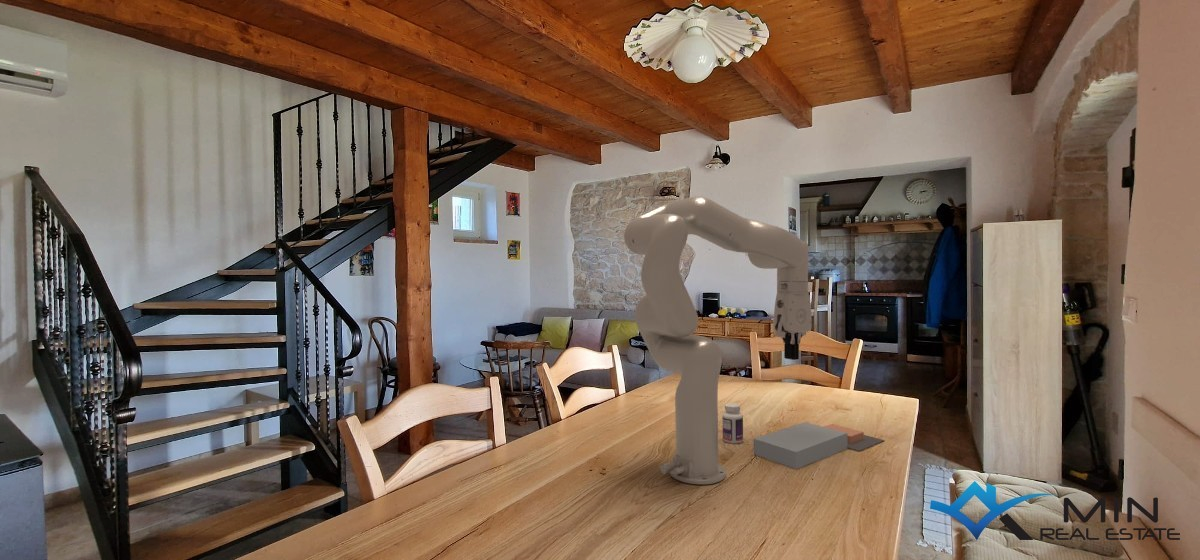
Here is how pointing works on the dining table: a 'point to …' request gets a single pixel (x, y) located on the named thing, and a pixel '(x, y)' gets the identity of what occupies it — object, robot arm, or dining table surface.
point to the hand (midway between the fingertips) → (791, 358)
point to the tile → (848, 433)
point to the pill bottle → (732, 424)
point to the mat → (864, 443)
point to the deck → (800, 444)
